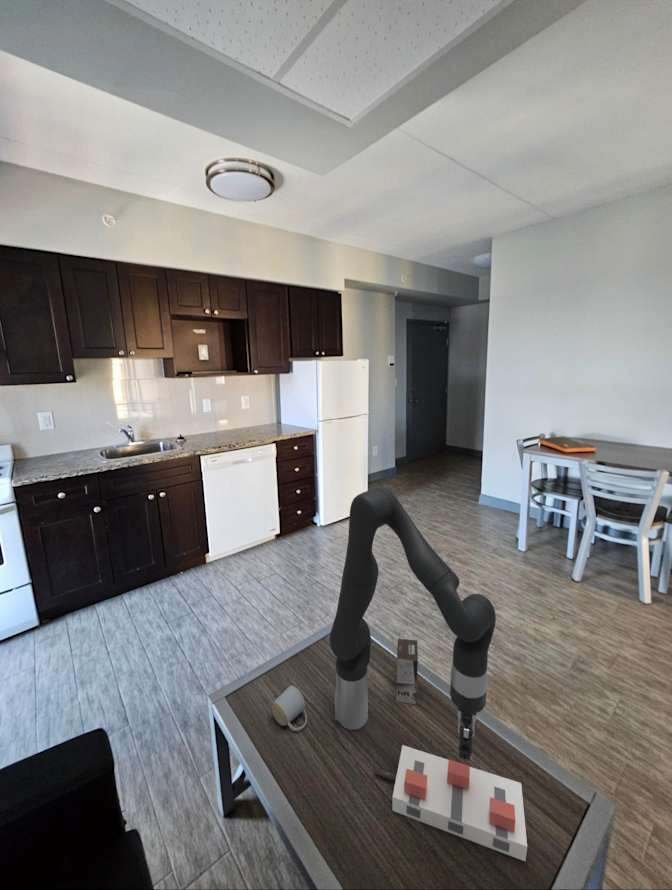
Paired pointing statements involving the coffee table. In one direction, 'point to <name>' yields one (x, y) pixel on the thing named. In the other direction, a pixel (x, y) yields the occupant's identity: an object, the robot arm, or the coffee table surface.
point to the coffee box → (407, 671)
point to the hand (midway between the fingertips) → (465, 739)
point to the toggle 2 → (458, 774)
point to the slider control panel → (460, 802)
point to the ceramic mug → (289, 707)
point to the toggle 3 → (502, 814)
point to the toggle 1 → (415, 784)
